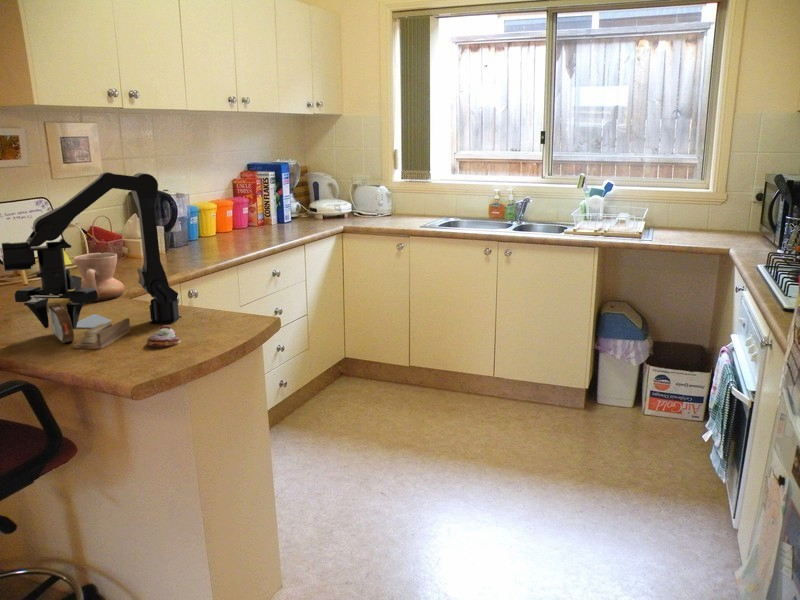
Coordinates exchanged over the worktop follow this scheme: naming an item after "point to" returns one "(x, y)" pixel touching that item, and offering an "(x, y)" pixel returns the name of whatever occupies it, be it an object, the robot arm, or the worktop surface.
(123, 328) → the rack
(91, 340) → the offcut lower
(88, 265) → the ceramic jug
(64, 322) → the tin
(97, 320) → the slate mat
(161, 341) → the pastry
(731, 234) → the worktop surface
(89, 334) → the offcut upper
